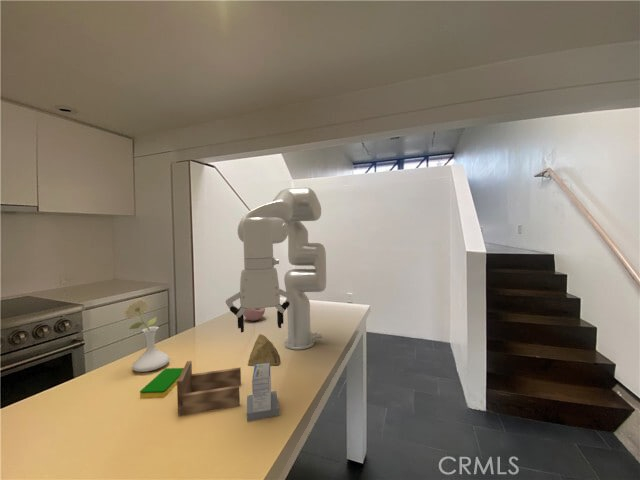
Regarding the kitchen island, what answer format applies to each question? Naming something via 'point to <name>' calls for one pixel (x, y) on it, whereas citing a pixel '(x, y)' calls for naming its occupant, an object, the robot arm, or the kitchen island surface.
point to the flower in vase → (151, 356)
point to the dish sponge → (162, 383)
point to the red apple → (254, 313)
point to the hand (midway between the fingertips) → (261, 328)
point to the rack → (207, 390)
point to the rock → (264, 352)
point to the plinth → (262, 414)
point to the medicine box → (261, 387)
